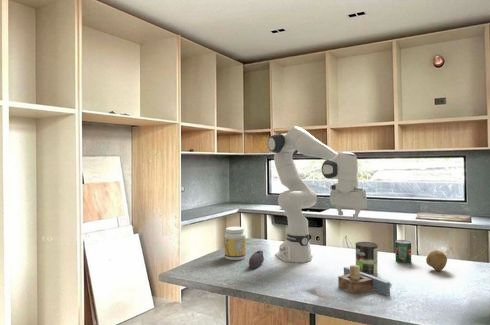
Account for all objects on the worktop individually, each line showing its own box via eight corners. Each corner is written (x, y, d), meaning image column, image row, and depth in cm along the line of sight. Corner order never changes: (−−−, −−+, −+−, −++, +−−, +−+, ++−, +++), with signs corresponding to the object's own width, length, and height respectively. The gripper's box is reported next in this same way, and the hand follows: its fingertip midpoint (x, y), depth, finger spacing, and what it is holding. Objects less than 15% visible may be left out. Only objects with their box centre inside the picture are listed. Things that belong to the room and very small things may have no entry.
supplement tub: (221, 256, 204) (221, 227, 204) (240, 253, 209) (240, 225, 209) (229, 261, 193) (229, 231, 193) (249, 259, 198) (249, 229, 198)
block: (338, 286, 153) (338, 276, 153) (355, 282, 158) (355, 272, 158) (355, 294, 144) (355, 283, 144) (372, 289, 149) (372, 279, 149)
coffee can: (365, 277, 165) (364, 247, 165) (351, 271, 174) (350, 242, 174) (382, 274, 168) (382, 245, 168) (368, 268, 178) (367, 240, 178)
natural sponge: (426, 272, 172) (426, 251, 172) (426, 267, 179) (426, 247, 179) (447, 274, 167) (447, 253, 167) (446, 269, 175) (446, 249, 175)
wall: (343, 278, 164) (343, 267, 164) (347, 277, 165) (346, 266, 165) (386, 295, 143) (386, 282, 143) (389, 294, 144) (389, 282, 144)
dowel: (348, 284, 152) (347, 265, 152) (354, 282, 154) (354, 264, 154) (355, 287, 148) (354, 268, 148) (361, 285, 150) (361, 266, 150)
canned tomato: (414, 264, 185) (414, 243, 185) (399, 264, 185) (398, 243, 185) (407, 259, 193) (407, 239, 193) (393, 259, 193) (392, 239, 193)
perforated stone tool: (254, 271, 176) (254, 257, 176) (244, 269, 179) (244, 256, 179) (266, 263, 190) (266, 250, 190) (257, 262, 192) (257, 249, 192)
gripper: (370, 188, 155) (370, 219, 155) (337, 185, 173) (337, 213, 173) (360, 188, 152) (360, 220, 152) (327, 185, 170) (327, 214, 170)
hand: (347, 216), depth 163 cm, fingers open, 8 cm apart
